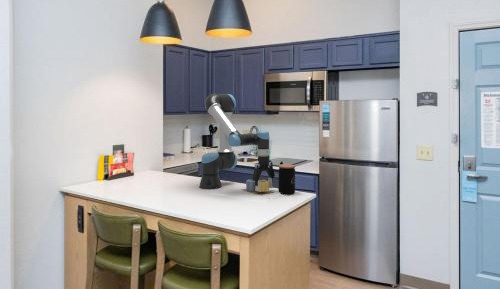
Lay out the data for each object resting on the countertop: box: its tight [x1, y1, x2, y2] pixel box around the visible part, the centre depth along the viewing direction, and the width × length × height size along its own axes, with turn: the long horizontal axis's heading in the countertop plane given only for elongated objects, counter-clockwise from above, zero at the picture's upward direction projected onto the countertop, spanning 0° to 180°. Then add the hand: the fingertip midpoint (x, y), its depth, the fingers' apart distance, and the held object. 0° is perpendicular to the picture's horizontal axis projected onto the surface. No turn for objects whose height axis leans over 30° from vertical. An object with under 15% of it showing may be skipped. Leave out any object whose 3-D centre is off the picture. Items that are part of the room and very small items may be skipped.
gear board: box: [241, 188, 275, 196], centre depth 237 cm, size 20×12×6 cm, turn 42°
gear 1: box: [245, 179, 255, 191], centre depth 241 cm, size 9×8×6 cm
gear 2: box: [255, 179, 270, 192], centre depth 233 cm, size 9×8×6 cm
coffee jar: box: [278, 163, 296, 196], centre depth 235 cm, size 11×11×18 cm
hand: (264, 189), depth 234 cm, fingers open, 11 cm apart
